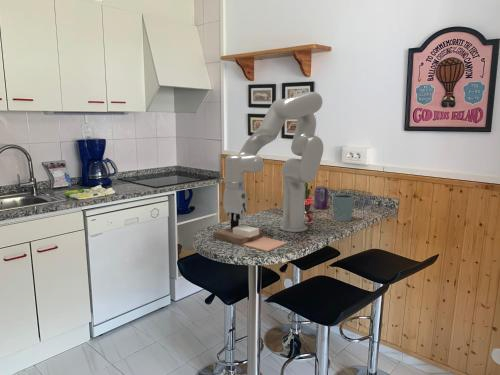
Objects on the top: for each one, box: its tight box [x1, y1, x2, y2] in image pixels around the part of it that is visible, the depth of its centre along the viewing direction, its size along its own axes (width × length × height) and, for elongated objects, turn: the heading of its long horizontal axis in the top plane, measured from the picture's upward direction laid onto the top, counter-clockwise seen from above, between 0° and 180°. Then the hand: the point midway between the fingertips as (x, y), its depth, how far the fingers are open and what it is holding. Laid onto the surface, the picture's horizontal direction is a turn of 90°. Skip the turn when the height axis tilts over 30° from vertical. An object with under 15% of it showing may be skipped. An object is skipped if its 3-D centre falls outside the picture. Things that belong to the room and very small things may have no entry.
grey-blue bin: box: [332, 193, 355, 222], centre depth 193 cm, size 10×10×12 cm
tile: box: [233, 224, 260, 238], centre depth 159 cm, size 6×9×2 cm, turn 50°
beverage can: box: [313, 185, 329, 210], centre depth 217 cm, size 7×7×12 cm
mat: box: [242, 236, 288, 253], centre depth 154 cm, size 13×12×1 cm
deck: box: [212, 226, 264, 246], centre depth 162 cm, size 14×15×2 cm
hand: (234, 228), depth 163 cm, fingers closed
